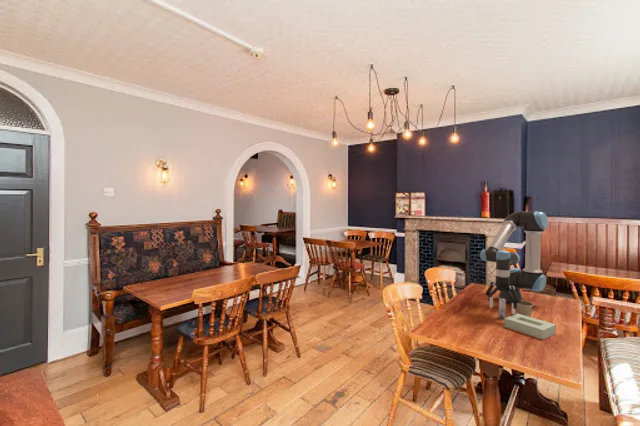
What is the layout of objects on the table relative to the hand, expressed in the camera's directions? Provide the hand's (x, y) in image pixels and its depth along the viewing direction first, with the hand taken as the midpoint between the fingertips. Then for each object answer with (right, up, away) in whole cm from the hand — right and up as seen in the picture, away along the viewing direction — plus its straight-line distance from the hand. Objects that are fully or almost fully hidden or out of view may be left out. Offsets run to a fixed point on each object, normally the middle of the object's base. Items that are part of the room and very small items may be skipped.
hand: (501, 310), depth 196 cm
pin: (0, -5, 0) cm, 5 cm away
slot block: (+5, -6, -18) cm, 19 cm away
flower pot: (+15, -5, +2) cm, 16 cm away
